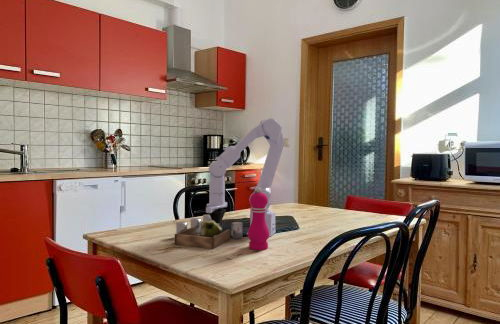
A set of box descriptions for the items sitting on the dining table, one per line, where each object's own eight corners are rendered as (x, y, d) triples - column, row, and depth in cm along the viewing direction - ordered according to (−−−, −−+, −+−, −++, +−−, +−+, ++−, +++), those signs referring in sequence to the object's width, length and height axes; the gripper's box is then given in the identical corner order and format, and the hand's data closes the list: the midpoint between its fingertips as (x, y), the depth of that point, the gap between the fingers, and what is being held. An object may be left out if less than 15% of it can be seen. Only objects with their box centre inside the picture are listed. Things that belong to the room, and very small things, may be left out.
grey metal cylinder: (214, 228, 156) (214, 214, 156) (210, 230, 152) (210, 216, 152) (205, 227, 157) (205, 214, 157) (201, 229, 153) (201, 215, 153)
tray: (230, 239, 138) (230, 229, 138) (213, 248, 125) (213, 238, 125) (194, 235, 143) (194, 226, 143) (174, 244, 130) (174, 234, 130)
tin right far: (189, 236, 141) (189, 222, 141) (183, 239, 137) (183, 224, 137) (179, 235, 143) (179, 221, 142) (174, 238, 139) (174, 223, 139)
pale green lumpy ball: (214, 245, 132) (210, 223, 131) (194, 243, 138) (190, 222, 136) (230, 235, 140) (226, 214, 138) (211, 234, 145) (207, 213, 144)
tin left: (244, 237, 141) (244, 222, 141) (240, 239, 138) (240, 224, 137) (234, 236, 143) (234, 221, 142) (229, 238, 139) (229, 223, 139)
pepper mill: (262, 251, 122) (262, 189, 121) (243, 248, 126) (243, 188, 125) (273, 246, 128) (273, 187, 128) (254, 243, 132) (255, 186, 131)
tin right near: (202, 232, 148) (202, 218, 148) (198, 234, 144) (198, 220, 144) (193, 231, 150) (193, 217, 149) (188, 233, 146) (188, 219, 146)
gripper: (215, 190, 151) (215, 224, 152) (198, 194, 138) (198, 232, 138) (232, 191, 149) (231, 225, 150) (216, 195, 135) (216, 233, 136)
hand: (216, 228), depth 144 cm, fingers closed
